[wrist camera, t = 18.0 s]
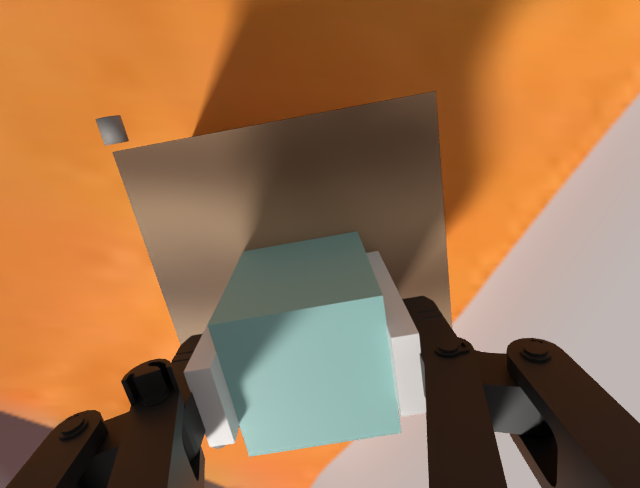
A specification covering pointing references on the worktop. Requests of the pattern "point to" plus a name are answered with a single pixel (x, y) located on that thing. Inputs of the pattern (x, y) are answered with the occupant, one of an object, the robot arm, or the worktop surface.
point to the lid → (293, 199)
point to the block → (306, 346)
